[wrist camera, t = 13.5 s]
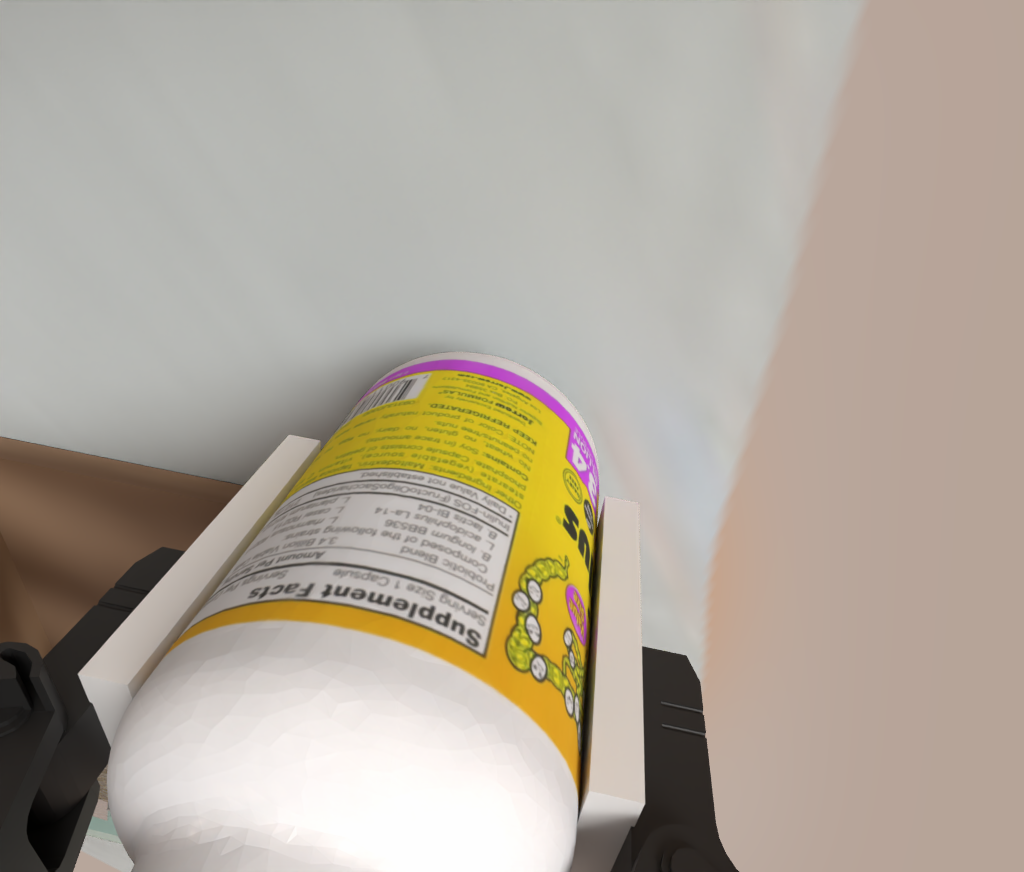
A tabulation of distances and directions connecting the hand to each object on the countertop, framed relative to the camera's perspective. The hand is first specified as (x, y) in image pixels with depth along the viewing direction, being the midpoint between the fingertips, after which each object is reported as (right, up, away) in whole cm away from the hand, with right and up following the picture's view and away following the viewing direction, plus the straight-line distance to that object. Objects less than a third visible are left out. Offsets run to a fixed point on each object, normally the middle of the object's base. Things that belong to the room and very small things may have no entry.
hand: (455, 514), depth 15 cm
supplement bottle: (0, +1, +2) cm, 3 cm away
